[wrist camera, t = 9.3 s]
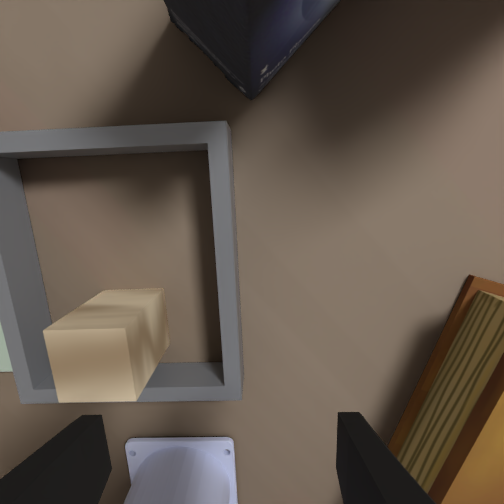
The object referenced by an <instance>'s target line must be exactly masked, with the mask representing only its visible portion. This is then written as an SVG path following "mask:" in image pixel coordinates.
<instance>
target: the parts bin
mask: <svg viewBox="0 0 504 504" xmlns="http://www.w3.org/2000/svg"><path fill="white" fill-rule="evenodd" d="M198 150H208V157H209V171H210V185H211V200H212V214H213V228H214V242H215V256H216V271H217V285H218V299H219V313H220V327H221V342H222V356H223V362H197V363H158V365H157V367H156V368H155V370H154V372H153V374H152V375H151V377H150V379H149V380H148V382H147V384H146V386H145V387H144V389H143V391H142V393H141V394H140V396H139V398H138V399H137V401H123V402H160V401H224V400H242V392H243V380H244V365H243V346H242V327H241V308H240V289H239V270H238V251H237V232H236V213H235V195H234V176H233V157H232V138H231V129H230V127H229V125H228V123H227V121H208V122H188V123H168V124H148V125H128V126H108V127H88V128H68V129H48V130H28V131H8V132H0V322H1V326H2V330H3V334H4V338H5V342H6V346H7V350H8V354H9V358H10V362H11V366H12V370H13V374H14V378H15V382H16V386H17V390H18V393H19V397H20V401H21V404H34V403H59V401H58V397H57V392H56V388H55V383H54V379H53V374H52V370H51V366H50V361H49V357H48V352H47V348H46V343H45V339H44V334H43V330H44V329H46V328H47V327H49V326H50V325H52V322H51V317H50V312H49V308H48V303H47V298H46V293H45V289H44V284H43V279H42V274H41V270H40V265H39V260H38V255H37V251H36V246H35V241H34V236H33V232H32V227H31V222H30V217H29V213H28V208H27V203H26V198H25V194H24V189H23V184H22V180H21V175H20V170H19V165H18V161H17V159H26V158H47V157H69V156H90V155H112V154H133V153H155V152H176V151H198ZM68 403H97V402H68Z"/></svg>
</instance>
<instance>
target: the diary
mask: <svg viewBox="0 0 504 504" xmlns="http://www.w3.org/2000/svg"><path fill="white" fill-rule="evenodd" d="M388 448H389V450H390V451H391V452H392V453H393V455H394V456H395V457H396V458H397V459H398V461H399V462H400V463H401V464H402V465H403V466H404V468H405V469H406V470H407V471H408V472H409V473H410V474H411V476H412V477H413V478H414V479H415V480H416V481H417V482H418V484H419V485H420V486H421V487H422V488H423V489H424V490H425V492H426V493H427V494H428V495H429V496H430V497H431V498H432V499H433V500H434V502H435V503H436V504H504V284H501V283H497V282H494V281H490V280H487V279H483V278H480V277H476V276H473V275H469V276H468V279H467V281H466V283H465V285H464V287H463V289H462V291H461V293H460V295H459V297H458V300H457V302H456V304H455V306H454V308H453V310H452V312H451V314H450V316H449V319H448V321H447V323H446V325H445V327H444V329H443V331H442V333H441V335H440V337H439V340H438V342H437V344H436V346H435V348H434V350H433V352H432V354H431V356H430V358H429V361H428V363H427V365H426V367H425V369H424V371H423V373H422V375H421V377H420V379H419V382H418V384H417V386H416V388H415V390H414V392H413V394H412V396H411V398H410V401H409V403H408V405H407V407H406V409H405V411H404V413H403V415H402V417H401V419H400V422H399V424H398V426H397V428H396V430H395V432H394V434H393V436H392V438H391V440H390V443H389V445H388Z"/></svg>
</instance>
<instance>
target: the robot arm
mask: <svg viewBox="0 0 504 504" xmlns="http://www.w3.org/2000/svg"><path fill="white" fill-rule="evenodd" d="M226 449H227V450H228V451H227V450H226ZM125 450H126V456H127V462H128V468H129V474H130V480H131V487H130V489H129V492H128V494H127V496H126V499H125V501H124V503H123V504H238V500H237V484H236V469H235V454H234V442H233V440H232V439H231V438H230V437H176V438H130V439H129V440H128V441H127V443H126V445H125ZM111 469H112V466H111V461H110V456H109V451H108V446H107V440H106V435H105V430H104V425H103V419H102V415H82V416H81V417H79V418H78V419H76V420H75V421H74V422H72V423H71V424H70V425H69V426H67V427H66V428H65V429H63V430H62V431H61V432H60V433H58V434H57V435H56V436H55V437H53V438H52V439H51V440H50V441H48V442H47V443H46V444H44V445H43V446H42V447H41V448H39V449H38V450H37V451H36V452H34V453H33V454H32V455H31V456H29V457H28V458H27V459H26V460H24V461H23V462H22V463H20V464H19V465H18V466H17V467H15V468H14V469H13V470H12V471H10V472H9V473H8V474H6V475H5V476H4V477H3V478H1V479H0V504H98V502H99V500H100V498H101V495H102V493H103V490H104V488H105V485H106V482H107V480H108V477H109V475H110V472H111ZM336 470H337V474H338V479H339V484H340V489H341V494H342V498H343V503H344V504H436V503H435V502H434V500H433V499H432V498H431V497H430V496H429V495H428V494H427V493H426V492H425V490H424V489H423V488H422V487H421V486H420V485H419V484H418V482H417V481H416V480H415V479H414V478H413V477H412V476H411V474H410V473H409V472H408V471H407V470H406V469H405V468H404V466H403V465H402V464H401V463H400V462H399V461H398V459H397V458H396V457H395V456H394V455H393V453H392V452H391V451H390V450H389V448H388V447H387V446H386V445H385V444H384V442H383V441H382V440H381V439H380V437H379V436H378V435H377V434H376V432H375V431H374V430H373V429H372V427H371V426H370V425H369V424H368V422H367V421H366V420H365V418H364V417H363V416H362V415H361V414H360V413H359V412H338V425H337V455H336Z"/></svg>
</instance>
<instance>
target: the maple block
mask: <svg viewBox="0 0 504 504" xmlns="http://www.w3.org/2000/svg"><path fill="white" fill-rule="evenodd" d="M43 334H44V339H45V343H46V348H47V352H48V357H49V361H50V366H51V370H52V374H53V379H54V383H55V388H56V392H57V397H58V401H59V403H68V402H123V401H137V399H138V398H139V396H140V394H141V393H142V391H143V389H144V387H145V386H146V384H147V382H148V380H149V379H150V377H151V375H152V374H153V372H154V370H155V368H156V367H157V365H158V363H159V362H160V360H161V358H162V356H163V355H164V353H165V351H166V349H167V348H168V346H169V344H170V337H169V329H168V320H167V312H166V303H165V295H164V288H156V289H126V290H104V291H102V292H101V293H99V294H98V295H96V296H95V297H93V298H92V299H90V300H89V301H87V302H85V303H84V304H82V305H81V306H79V307H78V308H76V309H75V310H73V311H72V312H70V313H69V314H67V315H66V316H64V317H63V318H61V319H59V320H58V321H56V322H55V323H53V324H52V325H50V326H49V327H47V328H46V329H44V330H43Z"/></svg>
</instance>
